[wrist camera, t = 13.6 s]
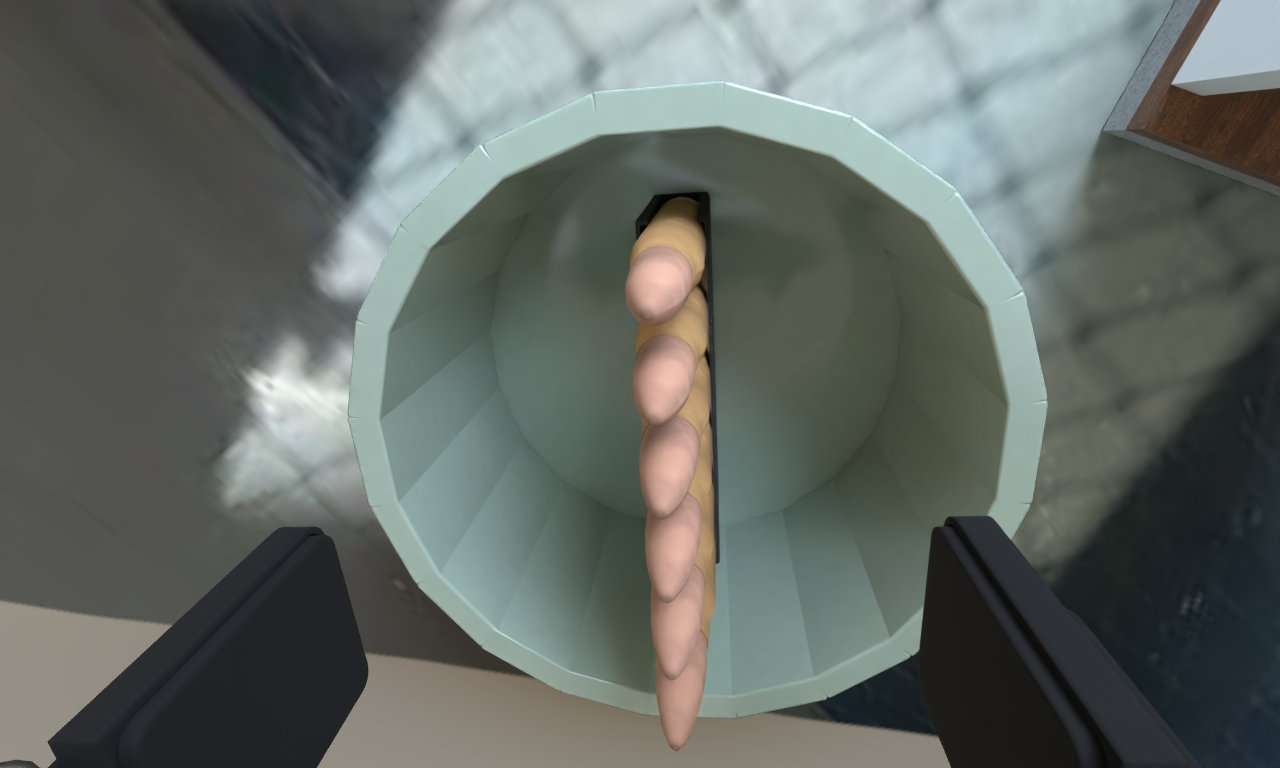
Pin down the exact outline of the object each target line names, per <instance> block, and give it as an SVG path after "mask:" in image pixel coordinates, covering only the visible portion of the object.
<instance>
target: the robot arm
mask: <svg viewBox="0 0 1280 768" xmlns="http://www.w3.org/2000/svg"><path fill="white" fill-rule="evenodd" d="M917 675H918V683H919V688H920V692H921V695H922V698H923V700H924V702H925V705H926V707H927V710H928V712H929V715H930V717H931V719H932V722H933V724H934V727H935V729H936V732H937V734H938V736H939V739H940V741H941V744H942V746H943V748H944V751H945V753H946V756H947V758H948V761H949V763H950V766H951V768H1202V767H1201V766H1200V764H1199V763H1198V762H1197V761H1196V759H1195V758H1194V757H1193V756H1192V754H1191V753H1190V752H1189V751H1188V750H1187V748H1186V747H1185V746H1184V745H1183V743H1182V742H1181V741H1180V740H1179V738H1178V737H1177V736H1176V735H1175V734H1174V732H1173V731H1172V730H1171V729H1170V727H1169V726H1168V725H1167V724H1166V722H1165V721H1164V720H1163V719H1162V718H1161V716H1160V715H1159V714H1158V713H1157V711H1156V710H1155V709H1154V708H1153V706H1152V705H1151V704H1150V703H1149V701H1148V700H1147V699H1146V698H1145V697H1144V695H1143V694H1142V693H1141V692H1140V690H1139V689H1138V688H1137V687H1136V685H1135V684H1134V683H1133V682H1132V681H1131V679H1130V678H1129V677H1128V676H1127V674H1126V673H1125V672H1124V671H1123V669H1122V668H1121V667H1120V666H1119V665H1118V663H1117V662H1116V661H1115V660H1114V658H1113V657H1112V656H1111V655H1110V653H1109V652H1108V651H1107V650H1106V649H1105V647H1104V646H1103V645H1102V644H1101V642H1100V641H1099V640H1098V639H1097V637H1096V636H1095V635H1094V634H1093V633H1092V631H1091V630H1090V629H1089V628H1088V626H1087V625H1086V624H1085V623H1084V621H1083V620H1082V619H1081V618H1080V617H1079V616H1077V615H1076V614H1075V613H1074V612H1072V611H1070V610H1068V609H1065V607H1064V606H1063V605H1062V604H1061V602H1060V601H1059V600H1058V599H1057V597H1056V596H1055V595H1054V594H1053V592H1052V591H1051V590H1050V589H1049V587H1048V586H1047V585H1046V584H1045V582H1044V581H1043V580H1042V579H1041V577H1040V576H1039V575H1038V573H1037V572H1036V571H1035V570H1034V568H1033V567H1032V566H1031V565H1030V563H1029V562H1028V561H1027V560H1026V558H1025V557H1024V556H1023V555H1022V553H1021V552H1020V551H1019V550H1018V548H1017V547H1016V546H1015V545H1014V543H1013V542H1012V541H1011V540H1010V538H1009V537H1008V536H1007V535H1006V533H1005V532H1004V531H1003V530H1002V528H1001V527H1000V526H999V524H998V523H997V522H996V521H995V520H994V519H993V518H992V517H990V516H949V517H948V518H946V520H945V522H944V526H940V527H934V528H933V530H932V534H931V542H930V551H929V561H928V570H927V580H926V589H925V599H924V608H923V618H922V628H921V637H920V647H919V656H918V666H917ZM367 678H368V663H367V659H366V656H365V652H364V649H363V645H362V641H361V638H360V634H359V631H358V627H357V623H356V620H355V616H354V613H353V609H352V605H351V602H350V598H349V595H348V591H347V587H346V584H345V580H344V576H343V573H342V569H341V566H340V562H339V558H338V555H337V551H336V548H335V544H334V542H333V540H332V538H331V537H329V536H327V535H325V534H324V532H323V531H322V530H321V529H320V528H318V527H282V528H279V529H277V530H276V531H274V532H273V533H272V534H271V535H270V536H269V537H268V538H266V539H265V540H264V541H263V542H262V543H261V544H260V545H259V546H258V547H257V548H256V549H255V550H254V551H252V552H251V553H250V554H249V555H248V556H247V557H246V558H245V559H244V560H243V561H242V562H241V563H240V564H238V565H237V566H236V567H235V568H234V569H233V570H232V571H231V572H230V573H229V574H228V575H227V576H226V577H224V578H223V579H222V580H221V581H220V582H219V583H218V584H217V585H216V586H215V587H214V588H213V589H211V590H210V591H209V592H208V593H207V594H206V595H205V596H204V597H203V598H202V599H201V600H200V601H199V602H197V603H196V604H195V605H194V606H193V607H192V608H191V609H190V610H189V611H188V612H187V613H186V614H185V615H183V616H182V617H181V618H180V619H179V620H178V621H177V622H176V623H175V624H174V625H173V626H172V627H171V628H169V629H168V630H167V631H166V632H165V633H164V634H163V635H162V636H161V637H160V638H159V639H158V640H157V641H156V642H154V643H153V644H152V645H151V646H150V647H149V648H148V649H147V650H146V651H145V652H144V653H143V654H141V655H140V657H138V658H137V659H136V660H135V661H134V662H133V663H132V664H131V665H130V666H129V667H127V668H126V670H124V671H123V672H122V673H121V674H120V675H119V676H118V677H117V678H116V679H115V680H113V681H112V682H111V683H110V684H109V685H108V686H107V687H106V688H105V689H104V690H103V691H102V692H101V693H99V694H98V695H97V696H96V697H95V698H94V699H93V700H92V701H91V702H90V703H89V704H88V705H87V706H85V707H84V708H83V709H82V710H81V711H80V712H79V713H78V714H77V715H76V716H75V717H74V718H73V719H71V721H69V722H68V723H67V724H66V725H65V726H64V727H63V728H62V729H61V730H60V731H59V732H57V733H56V734H55V735H54V736H53V737H52V738H51V739H50V740H49V741H48V744H49V746H50V748H51V749H52V751H53V753H54V755H55V757H56V760H55V761H54V762H53V763H52V764H51V765H50V766H49V767H48V768H317V766H318V765H319V763H320V761H321V760H322V758H323V756H324V754H325V753H326V751H327V749H328V748H329V746H330V745H331V743H332V741H333V740H334V738H335V736H336V735H337V733H338V732H339V730H340V728H341V727H342V725H343V723H344V722H345V720H346V718H347V717H348V715H349V713H350V711H351V710H352V708H353V706H354V705H355V703H356V702H357V700H358V698H359V697H360V695H361V693H362V691H363V690H364V688H365V685H366V682H367ZM0 768H39V767H38V766H37V765H36V764H34V763H33V762H31V761H22V760H13V761H7V762H1V763H0Z"/></svg>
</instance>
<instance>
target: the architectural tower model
mask: <svg viewBox="0 0 1280 768" xmlns="http://www.w3.org/2000/svg"><path fill="white" fill-rule="evenodd" d="M1102 131H1104V132H1107V133H1110V134H1112V135H1115V136H1118V137H1121V138H1123V139H1126V140H1129V141H1131V142H1134V143H1137V144H1139V145H1142V146H1145V147H1148V148H1150V149H1153V150H1156V151H1158V152H1161V153H1164V154H1167V155H1169V156H1172V157H1175V158H1177V159H1180V160H1183V161H1186V162H1188V163H1191V164H1194V165H1196V166H1199V167H1202V168H1204V169H1207V170H1210V171H1213V172H1215V173H1218V174H1221V175H1223V176H1226V177H1229V178H1232V179H1234V180H1237V181H1240V182H1242V183H1245V184H1248V185H1250V186H1253V187H1256V188H1259V189H1261V190H1264V191H1267V192H1269V193H1272V194H1275V195H1278V196H1280V0H1176V2H1175V3H1174V5H1173V7H1172V9H1171V10H1170V12H1169V14H1168V16H1167V17H1166V19H1165V21H1164V23H1163V24H1162V26H1161V28H1160V30H1159V31H1158V33H1157V35H1156V37H1155V38H1154V40H1153V42H1152V44H1151V45H1150V47H1149V49H1148V51H1147V52H1146V54H1145V56H1144V58H1143V59H1142V61H1141V63H1140V65H1139V66H1138V68H1137V70H1136V72H1135V73H1134V75H1133V77H1132V79H1131V80H1130V82H1129V84H1128V86H1127V87H1126V89H1125V91H1124V93H1123V95H1122V96H1121V98H1120V100H1119V102H1118V103H1117V105H1116V107H1115V109H1114V110H1113V112H1112V114H1111V116H1110V117H1109V119H1108V121H1107V123H1106V124H1105V126H1104V128H1103V130H1102Z"/></svg>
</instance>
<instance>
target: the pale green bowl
mask: <svg viewBox="0 0 1280 768" xmlns="http://www.w3.org/2000/svg"><path fill="white" fill-rule="evenodd" d="M705 191H707V192H708V194H709V196H710V214H711V248H712V281H713V315H714V349H715V383H716V416H717V450H718V484H719V536H720V562H719V563H718V564H716V604H715V610H714V613H713V617H712V620H711V623H710V631H709V646H708V649H707V668H706V678H705V685H704V692H703V697H702V701H701V705H700V709H699V712H698V715H697V717H704V718H732V719H735V718H737V717H739V718H741V717H745V716H750V715H755V714H760V713H765V712H770V711H774V710H779V709H784V708H789V707H793V706H798V705H803V704H808V703H812V702H817V701H822V700H825V699H827V697H828V698H831V697H833V696H835V695H837V694H839V693H841V692H843V691H845V690H847V689H849V688H851V687H853V686H855V685H857V684H859V683H861V682H863V681H865V680H867V679H869V678H871V677H873V676H875V675H877V674H879V673H881V672H883V671H885V670H887V669H889V668H891V667H893V666H895V665H897V664H899V663H901V662H903V661H905V660H907V659H909V658H910V655H911V656H913V655H915V654H916V653H917V652H918V651H919V647H920V637H921V628H922V618H923V608H924V599H925V589H926V580H927V570H928V561H929V551H930V542H931V534H932V530H933V528H934V527H940V526H944V522H945V520H946V518H948V517H949V516H990V517H992V518H993V519H994V520H995V521H996V522H997V523H998V524H999V526H1000V527H1001V528H1002V530H1003V531H1004V532H1005V533H1006V535H1007V536H1008V537H1009V538H1010V540H1012V539H1013V537H1014V535H1015V533H1016V532H1017V530H1018V528H1019V526H1020V524H1021V523H1022V521H1023V519H1024V517H1025V515H1026V514H1027V512H1028V510H1029V508H1030V503H1032V500H1033V494H1034V488H1035V482H1036V476H1037V469H1038V463H1039V457H1040V451H1041V445H1042V438H1043V432H1044V426H1045V420H1046V414H1047V408H1048V401H1047V392H1046V388H1045V383H1044V378H1043V374H1042V369H1041V364H1040V360H1039V355H1038V350H1037V346H1036V341H1035V336H1034V332H1033V327H1032V322H1031V318H1030V313H1029V308H1028V304H1027V299H1026V294H1025V293H1024V292H1023V291H1022V286H1021V284H1020V283H1019V281H1018V280H1017V278H1016V277H1015V275H1014V274H1013V272H1012V271H1011V269H1010V268H1009V266H1008V265H1007V263H1006V262H1005V260H1004V259H1003V257H1002V256H1001V254H1000V253H999V251H998V250H997V248H996V247H995V245H994V244H993V242H992V241H991V239H990V238H989V236H988V235H987V233H986V232H985V230H984V229H983V227H982V226H981V224H980V223H979V221H978V220H977V218H976V217H975V215H974V214H973V212H972V211H971V209H970V208H969V206H968V205H967V203H966V202H965V200H964V199H963V197H962V196H961V194H960V193H958V192H956V189H955V187H953V186H952V185H951V184H949V183H948V182H946V181H945V180H944V179H942V178H941V177H939V176H938V175H936V174H935V173H934V172H932V171H931V170H929V169H928V168H927V167H925V166H924V165H922V164H921V163H919V162H918V161H917V160H915V159H914V158H912V157H911V156H910V155H908V154H907V153H905V152H904V151H902V150H901V149H900V148H898V147H897V146H895V145H894V144H893V143H891V142H890V141H888V140H887V139H885V138H884V137H883V136H881V135H880V134H878V133H877V132H876V131H874V130H873V129H871V128H870V127H868V126H867V125H866V124H864V123H863V122H861V121H860V120H859V119H857V118H856V117H851V116H850V115H849V114H847V113H843V112H839V111H835V110H832V109H828V108H824V107H820V106H817V105H813V104H809V103H805V102H802V101H798V100H794V99H790V98H787V97H783V96H779V95H775V94H772V93H768V92H764V91H761V90H757V89H753V88H749V87H746V86H742V85H738V84H734V83H731V82H724V83H723V82H722V81H713V82H701V83H689V84H677V85H665V86H654V87H642V88H630V89H618V90H607V91H595V92H594V93H593V94H587V95H585V96H583V97H581V98H579V99H576V100H574V101H572V102H570V103H568V104H566V105H563V106H561V107H559V108H557V109H555V110H553V111H550V112H548V113H546V114H544V115H542V116H540V117H537V118H535V119H533V120H531V121H529V122H527V123H524V124H522V125H520V126H518V127H516V128H513V129H511V130H509V131H507V132H505V133H503V134H500V135H498V136H496V137H494V138H492V139H490V140H487V141H485V142H484V143H483V145H478V146H477V147H476V148H475V149H474V150H473V151H472V152H471V153H470V154H469V155H468V156H467V157H466V158H465V159H464V160H463V161H462V162H461V163H460V164H459V165H458V166H457V167H456V168H455V169H454V170H453V171H452V172H451V173H450V174H449V175H448V176H447V177H446V178H445V179H444V180H443V181H442V182H441V183H440V184H439V185H438V186H437V187H436V188H435V189H434V190H433V191H432V192H431V193H430V194H429V195H428V196H427V197H426V198H425V199H424V200H423V201H422V202H421V203H420V204H419V205H418V206H417V207H416V208H415V209H414V210H413V211H412V212H411V213H410V214H409V215H408V216H407V217H406V218H405V219H404V220H403V221H402V222H401V224H400V226H399V227H398V229H397V231H396V233H395V236H394V238H393V240H392V242H391V244H390V246H389V249H388V251H387V253H386V255H385V257H384V259H383V262H382V264H381V266H380V268H379V270H378V272H377V275H376V277H375V279H374V281H373V283H372V285H371V288H370V290H369V292H368V294H367V296H366V299H365V301H364V303H363V305H362V307H361V309H360V312H359V314H358V316H357V321H356V323H355V334H354V346H353V358H352V369H351V381H350V393H349V404H348V416H349V417H348V422H349V426H350V430H351V434H352V438H353V442H354V446H355V450H356V454H357V459H358V463H359V467H360V471H361V475H362V479H363V483H364V487H365V491H366V495H367V499H368V503H369V506H370V507H372V508H371V509H372V512H373V513H374V515H375V517H376V518H377V520H378V522H379V523H380V525H381V527H382V528H383V530H384V532H385V533H386V535H387V537H388V538H389V540H390V542H391V543H392V545H393V547H394V548H395V550H396V552H397V554H398V555H399V557H400V559H401V560H402V562H403V564H404V565H405V567H406V569H407V570H408V572H409V574H410V575H411V577H412V579H413V580H414V582H415V583H416V584H418V587H419V588H420V589H421V590H422V591H423V592H424V593H425V594H426V595H427V596H428V597H429V598H430V599H431V600H432V601H433V602H434V603H435V604H436V605H437V606H439V607H440V608H441V609H442V610H443V611H444V612H445V613H446V614H447V615H448V616H449V617H450V618H451V619H452V620H453V621H454V622H455V623H456V624H457V625H458V626H460V627H461V628H462V629H463V630H464V631H465V632H466V633H467V634H468V635H469V636H470V637H471V638H472V639H473V640H474V641H475V642H476V643H477V644H478V645H480V646H482V649H484V650H486V651H488V652H490V653H491V654H493V655H495V656H497V657H498V658H500V659H502V660H504V661H506V662H507V663H509V664H511V665H513V666H515V667H516V668H518V669H520V670H522V671H523V672H525V673H527V674H529V675H531V676H532V677H534V678H536V679H538V680H540V681H541V682H543V683H545V684H547V685H549V686H551V687H552V688H554V689H556V690H558V691H559V690H560V692H563V693H567V694H570V695H574V696H577V697H581V698H584V699H588V700H592V701H595V702H599V703H602V704H606V705H610V706H613V707H617V708H621V709H624V710H628V711H632V712H635V713H638V714H642V715H646V714H647V715H648V716H660V715H659V710H658V703H657V693H656V672H655V663H656V652H655V648H654V643H653V637H652V628H651V590H652V583H651V580H650V576H649V572H648V568H647V561H646V551H645V527H646V520H647V504H646V502H645V500H644V496H643V493H642V489H641V483H640V473H639V455H640V449H641V444H642V439H641V436H642V429H643V426H642V421H641V416H640V414H639V412H638V409H637V407H636V404H635V400H634V394H633V371H634V368H635V364H636V354H637V351H636V340H635V336H636V332H637V329H638V326H639V322H638V321H637V319H636V318H635V317H634V316H633V315H632V314H631V312H630V310H629V307H628V305H627V302H626V291H625V289H626V281H627V278H628V274H629V271H630V256H631V252H632V249H633V246H634V244H635V242H636V228H635V222H636V219H637V218H638V217H639V216H640V214H641V213H642V212H643V210H644V209H645V208H646V206H647V205H648V204H649V202H650V201H651V199H652V198H653V196H654V195H658V194H674V193H690V192H705Z"/></svg>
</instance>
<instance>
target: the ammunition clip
mask: <svg viewBox="0 0 1280 768" xmlns="http://www.w3.org/2000/svg"><path fill="white" fill-rule="evenodd" d="M635 228H636V242H635V244H634V246H633V249H632V252H631V256H630V271H629V274H628V278H627V281H626V289H625V291H626V302H627V305H628V307H629V310H630V312H631V314H632V315H633V316H634V317H635V318H636V319H637V321H638V322H639V326H638V329H637V332H636V336H635V340H636V351H637V354H636V364H635V368H634V371H633V394H634V400H635V404H636V407H637V409H638V412H639V414H640V416H641V421H642V426H643V429H642V436H641V439H642V444H641V449H640V455H639V473H640V483H641V489H642V493H643V496H644V500H645V502H646V504H647V520H646V527H645V551H646V561H647V568H648V572H649V576H650V580H651V583H652V590H651V628H652V637H653V643H654V648H655V652H656V663H655V672H656V693H657V703H658V710H659V715H660V719H661V724H662V728H663V731H664V734H665V736H666V739H667V741H668V743H669V745H670V747H671V748H672V749H673V750H675V751H678V750H680V749H681V748H682V747H683V746H684V744H685V743H686V741H687V740H688V738H689V736H690V734H691V732H692V729H693V727H694V724H695V721H696V718H697V715H698V712H699V709H700V705H701V701H702V697H703V692H704V685H705V678H706V668H707V649H708V646H709V631H710V623H711V620H712V617H713V613H714V610H715V604H716V564H718V563H719V562H720V536H719V484H718V450H717V416H716V383H715V349H714V315H713V281H712V248H711V214H710V196H709V194H708V192H707V191H705V192H690V193H674V194H658V195H654V196H653V198H652V199H651V201H650V202H649V204H648V205H647V206H646V208H645V209H644V210H643V212H642V213H641V214H640V216H639V217H638V218H637V219H636V222H635Z"/></svg>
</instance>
